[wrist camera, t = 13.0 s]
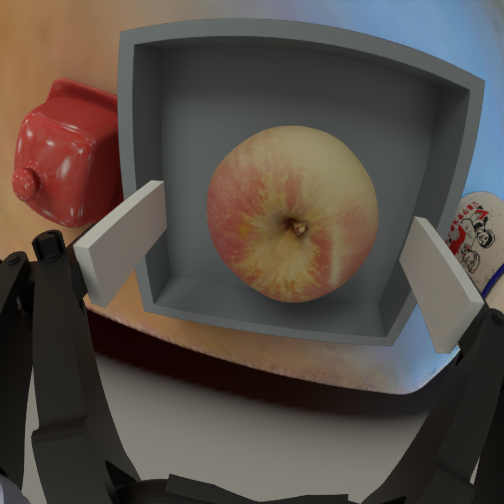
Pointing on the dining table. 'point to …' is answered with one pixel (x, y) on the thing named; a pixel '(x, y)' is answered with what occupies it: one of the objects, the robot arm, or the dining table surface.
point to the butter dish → (70, 155)
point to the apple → (292, 213)
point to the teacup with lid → (481, 244)
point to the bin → (289, 114)
